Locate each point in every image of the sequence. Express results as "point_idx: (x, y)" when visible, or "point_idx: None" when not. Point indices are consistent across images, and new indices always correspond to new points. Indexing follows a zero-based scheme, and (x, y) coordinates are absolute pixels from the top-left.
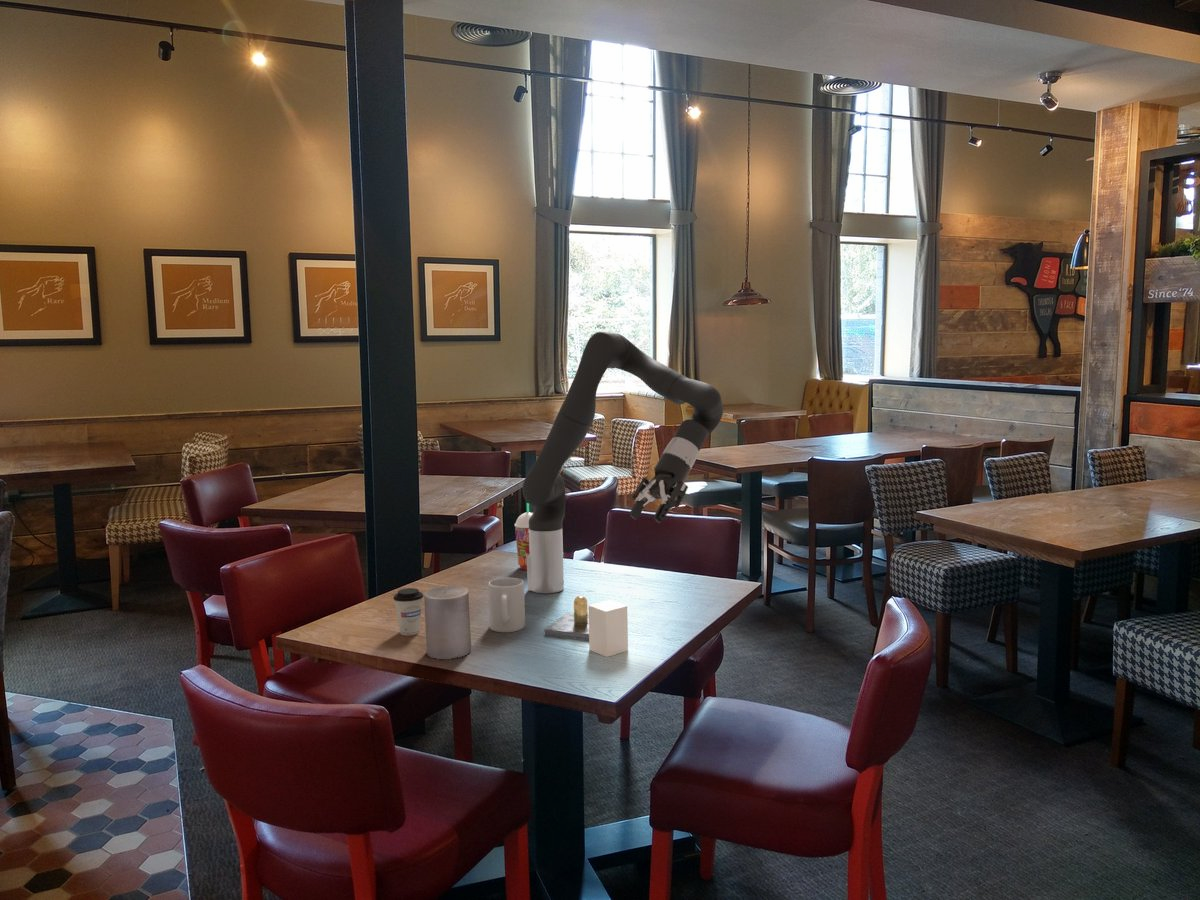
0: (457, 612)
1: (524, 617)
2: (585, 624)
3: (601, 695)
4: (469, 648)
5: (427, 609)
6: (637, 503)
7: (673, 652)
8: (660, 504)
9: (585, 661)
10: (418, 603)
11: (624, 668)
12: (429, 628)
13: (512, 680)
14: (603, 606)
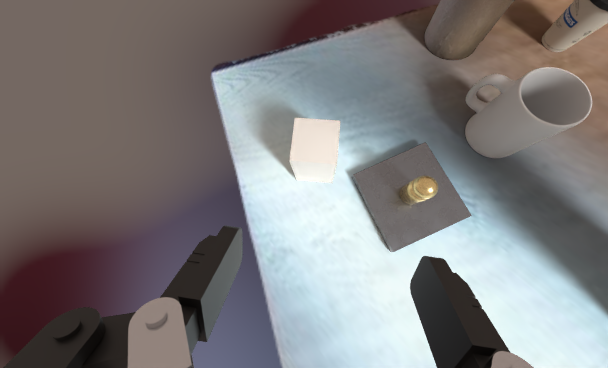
0: None
1: (482, 144)
2: (400, 193)
3: (231, 74)
4: (432, 46)
5: None
6: (463, 328)
7: (247, 214)
8: (200, 297)
9: None
10: (582, 5)
11: (260, 136)
12: None
13: (326, 40)
14: (317, 132)
